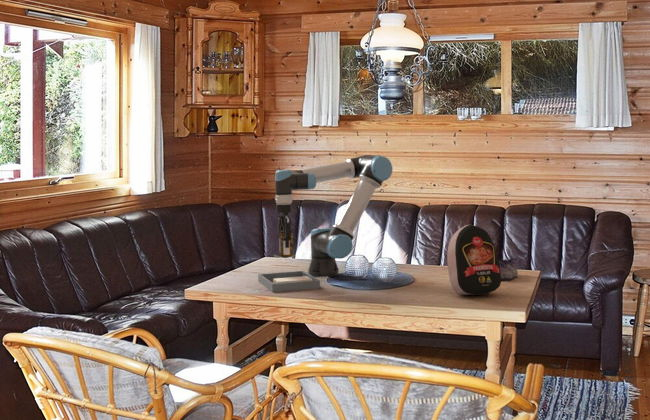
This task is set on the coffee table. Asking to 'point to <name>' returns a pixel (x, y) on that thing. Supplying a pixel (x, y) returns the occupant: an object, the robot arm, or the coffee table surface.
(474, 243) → the packaged food
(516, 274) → the geode
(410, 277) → the coffee table surface
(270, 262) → the coffee table surface
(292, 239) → the condiment
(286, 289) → the gray tray
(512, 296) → the coffee table surface
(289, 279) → the cream rectangular block
